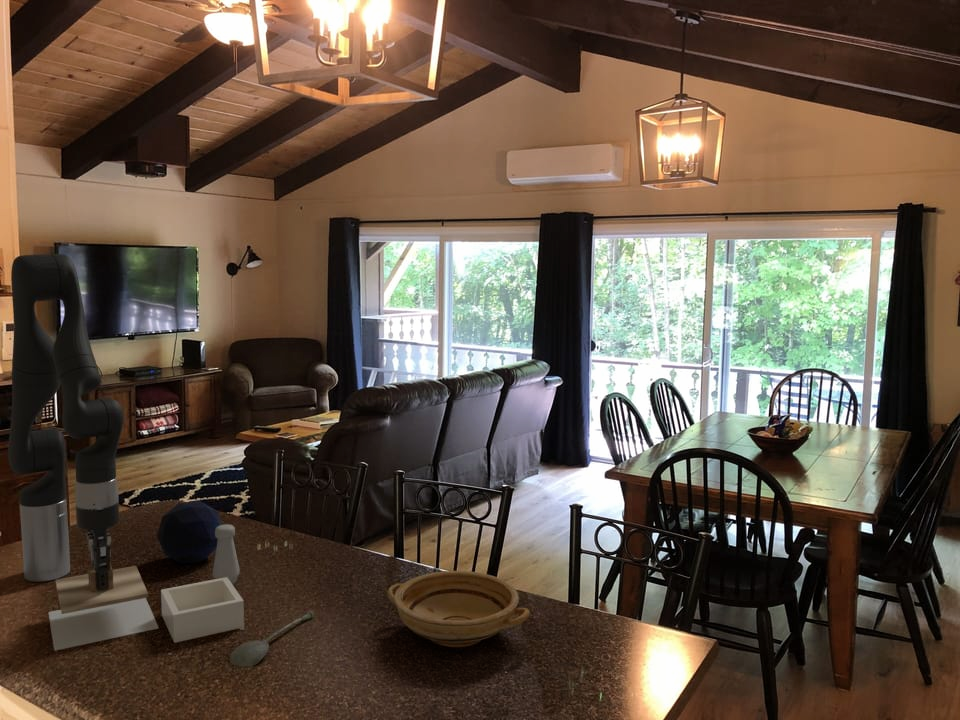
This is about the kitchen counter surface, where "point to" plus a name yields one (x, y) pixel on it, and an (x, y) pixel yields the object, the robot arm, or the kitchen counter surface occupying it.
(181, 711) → the kitchen counter surface
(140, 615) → the tray
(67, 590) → the lid
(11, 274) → the robot arm
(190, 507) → the decorative orb
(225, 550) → the salt shaker
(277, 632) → the soupspoon
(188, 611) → the white open box
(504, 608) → the ceramic bowl
